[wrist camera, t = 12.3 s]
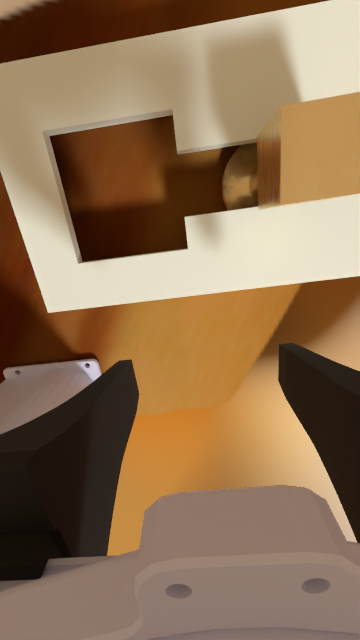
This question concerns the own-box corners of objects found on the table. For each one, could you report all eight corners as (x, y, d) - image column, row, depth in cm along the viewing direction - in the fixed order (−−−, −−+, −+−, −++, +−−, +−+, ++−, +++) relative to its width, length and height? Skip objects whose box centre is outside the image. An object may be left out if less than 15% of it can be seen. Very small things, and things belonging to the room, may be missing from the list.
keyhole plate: (70, 298, 22) (48, 312, 18) (12, 102, 17) (-34, 70, 13) (352, 264, 20) (387, 272, 17) (378, 37, 15) (437, -21, 12)
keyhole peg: (224, 233, 20) (252, 239, 11) (218, 144, 17) (246, 70, 9) (301, 222, 19) (391, 220, 11) (305, 129, 17) (419, 36, 9)
